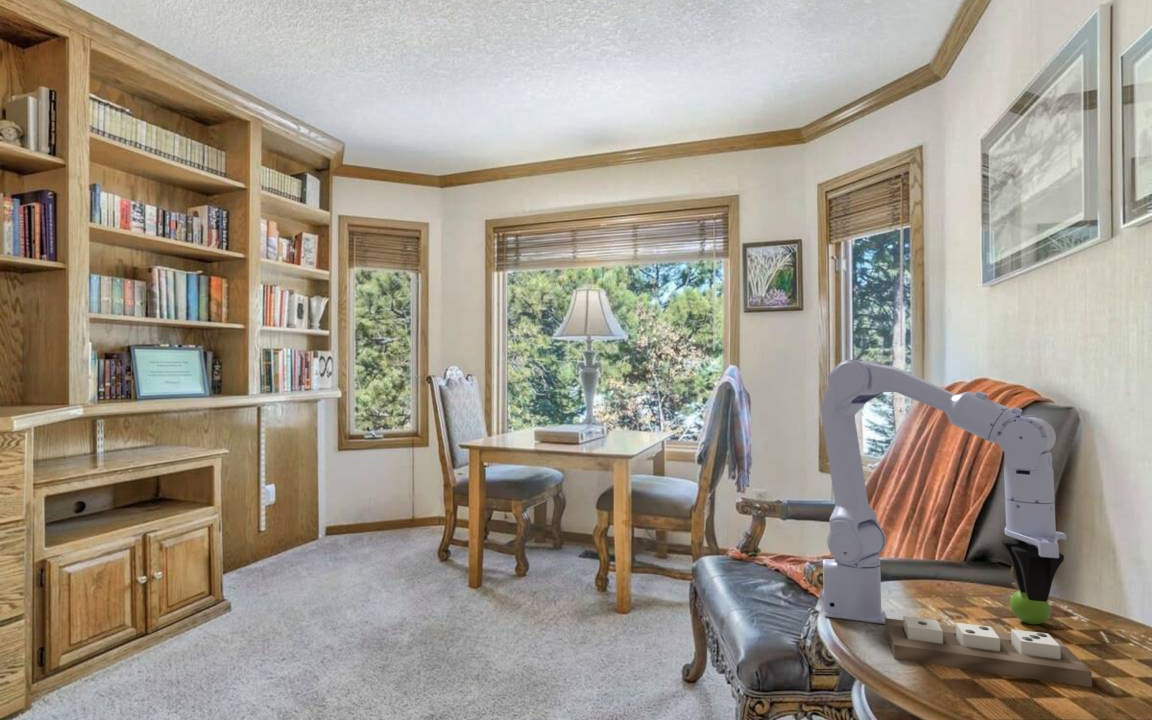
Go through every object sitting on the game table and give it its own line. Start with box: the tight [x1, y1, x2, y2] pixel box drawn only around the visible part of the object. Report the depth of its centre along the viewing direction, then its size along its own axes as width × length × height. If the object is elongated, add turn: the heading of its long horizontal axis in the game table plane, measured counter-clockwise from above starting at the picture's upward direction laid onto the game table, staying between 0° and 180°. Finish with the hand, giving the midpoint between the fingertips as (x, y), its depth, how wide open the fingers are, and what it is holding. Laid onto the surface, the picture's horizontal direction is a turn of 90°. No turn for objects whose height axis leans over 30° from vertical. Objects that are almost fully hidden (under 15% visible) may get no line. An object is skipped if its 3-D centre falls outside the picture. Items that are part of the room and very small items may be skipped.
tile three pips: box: [1010, 628, 1061, 659], centre depth 85 cm, size 4×4×3 cm
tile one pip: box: [902, 616, 943, 644], centre depth 90 cm, size 4×4×3 cm
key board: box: [884, 617, 1093, 688], centre depth 88 cm, size 23×11×2 cm, turn 69°
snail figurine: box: [1009, 565, 1051, 625], centre depth 100 cm, size 5×6×12 cm
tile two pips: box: [955, 622, 1000, 651], centre depth 88 cm, size 4×4×3 cm
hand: (1033, 596), depth 85 cm, fingers open, 3 cm apart
